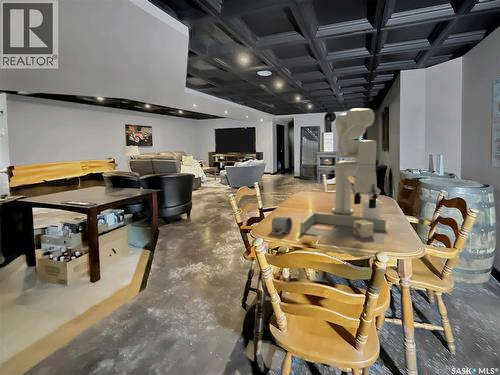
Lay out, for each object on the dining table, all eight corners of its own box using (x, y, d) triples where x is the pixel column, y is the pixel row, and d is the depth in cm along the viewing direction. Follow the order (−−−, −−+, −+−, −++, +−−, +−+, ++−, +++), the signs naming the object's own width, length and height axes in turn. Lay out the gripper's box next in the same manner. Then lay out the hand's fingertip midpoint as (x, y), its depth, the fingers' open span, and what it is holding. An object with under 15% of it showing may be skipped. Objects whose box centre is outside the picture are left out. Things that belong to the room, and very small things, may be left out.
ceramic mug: (278, 228, 142) (277, 213, 140) (292, 230, 137) (292, 215, 136) (267, 234, 133) (267, 218, 132) (282, 237, 129) (282, 221, 127)
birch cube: (353, 233, 130) (353, 221, 129) (363, 232, 132) (364, 219, 131) (361, 237, 124) (362, 224, 123) (372, 235, 126) (373, 223, 125)
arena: (312, 221, 152) (312, 212, 151) (385, 230, 135) (385, 219, 135) (300, 233, 133) (300, 222, 132) (383, 245, 116) (384, 232, 115)
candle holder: (380, 221, 150) (381, 200, 148) (382, 226, 141) (383, 203, 139) (360, 220, 154) (361, 199, 152) (361, 225, 144) (362, 202, 143)
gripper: (346, 167, 130) (345, 203, 132) (373, 169, 114) (371, 210, 116) (359, 166, 132) (358, 202, 135) (387, 169, 116) (385, 209, 118)
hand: (364, 205), depth 125 cm, fingers open, 9 cm apart
